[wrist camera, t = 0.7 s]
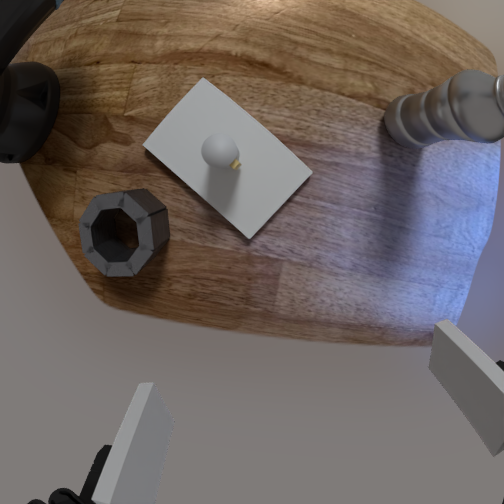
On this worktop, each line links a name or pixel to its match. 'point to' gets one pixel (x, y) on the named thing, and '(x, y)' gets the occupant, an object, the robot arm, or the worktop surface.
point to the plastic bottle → (450, 112)
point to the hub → (105, 238)
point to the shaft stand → (227, 157)
